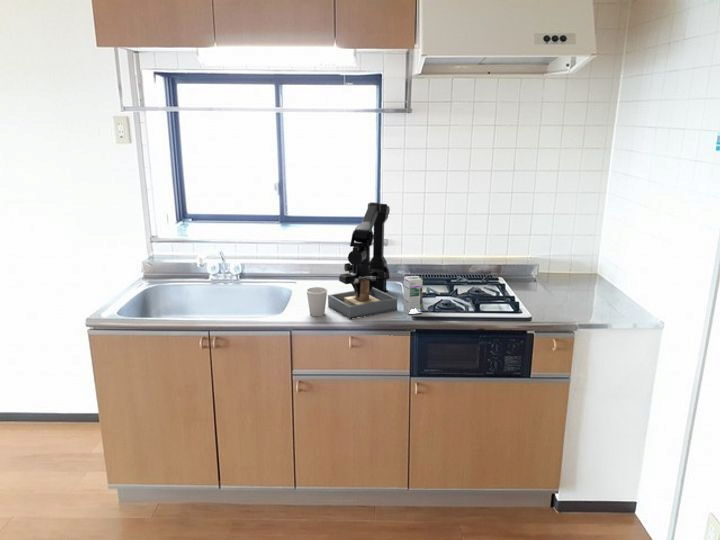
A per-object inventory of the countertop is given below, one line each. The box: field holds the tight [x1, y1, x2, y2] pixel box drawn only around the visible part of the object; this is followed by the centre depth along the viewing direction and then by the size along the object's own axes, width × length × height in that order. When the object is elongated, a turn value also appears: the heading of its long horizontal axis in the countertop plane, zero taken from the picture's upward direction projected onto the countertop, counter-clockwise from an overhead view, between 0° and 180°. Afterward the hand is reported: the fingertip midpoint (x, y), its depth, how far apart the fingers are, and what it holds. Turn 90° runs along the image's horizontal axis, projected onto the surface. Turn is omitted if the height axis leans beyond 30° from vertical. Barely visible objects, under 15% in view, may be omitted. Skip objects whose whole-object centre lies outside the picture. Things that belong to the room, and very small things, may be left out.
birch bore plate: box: [344, 295, 381, 306], centre depth 218 cm, size 11×11×3 cm
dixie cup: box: [305, 286, 328, 317], centre depth 211 cm, size 8×8×10 cm
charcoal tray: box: [327, 287, 398, 320], centre depth 218 cm, size 22×18×5 cm
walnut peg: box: [356, 278, 369, 302], centre depth 217 cm, size 4×4×9 cm
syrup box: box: [403, 275, 424, 315], centre depth 213 cm, size 6×6×14 cm
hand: (362, 296), depth 218 cm, fingers closed on walnut peg, 4 cm apart
